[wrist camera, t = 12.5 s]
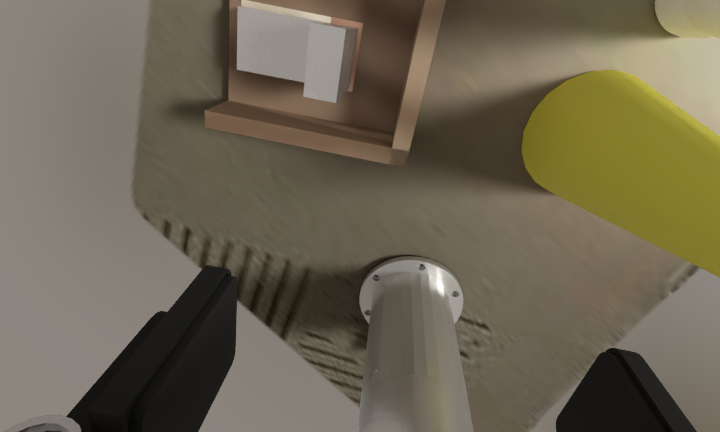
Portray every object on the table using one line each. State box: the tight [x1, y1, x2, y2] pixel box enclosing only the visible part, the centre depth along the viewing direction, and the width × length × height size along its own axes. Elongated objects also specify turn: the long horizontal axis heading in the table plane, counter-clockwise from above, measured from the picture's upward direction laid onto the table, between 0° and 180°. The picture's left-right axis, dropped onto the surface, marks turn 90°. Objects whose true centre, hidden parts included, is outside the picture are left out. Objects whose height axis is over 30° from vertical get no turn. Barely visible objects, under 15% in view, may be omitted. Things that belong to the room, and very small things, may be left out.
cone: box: [521, 70, 720, 277], centre depth 25 cm, size 12×12×25 cm
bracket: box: [237, 6, 359, 103], centre depth 30 cm, size 10×5×8 cm, turn 81°
